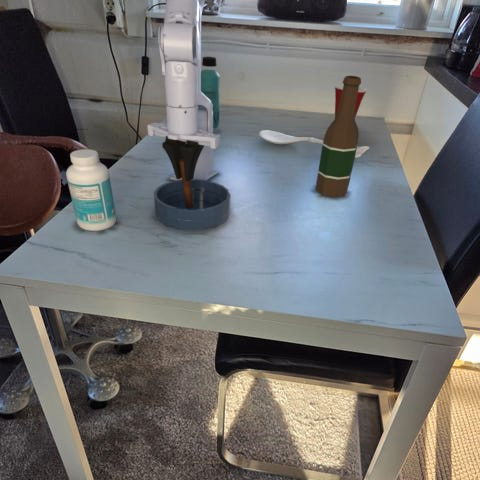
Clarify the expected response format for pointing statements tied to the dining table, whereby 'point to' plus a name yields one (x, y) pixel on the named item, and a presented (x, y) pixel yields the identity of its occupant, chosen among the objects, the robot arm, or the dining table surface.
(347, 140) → the beer bottle
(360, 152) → the spoon
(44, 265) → the dining table surface
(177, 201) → the bowl
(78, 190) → the pill bottle
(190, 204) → the stirring stick
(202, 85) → the beverage bottle
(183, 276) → the dining table surface
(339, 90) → the plastic cup
